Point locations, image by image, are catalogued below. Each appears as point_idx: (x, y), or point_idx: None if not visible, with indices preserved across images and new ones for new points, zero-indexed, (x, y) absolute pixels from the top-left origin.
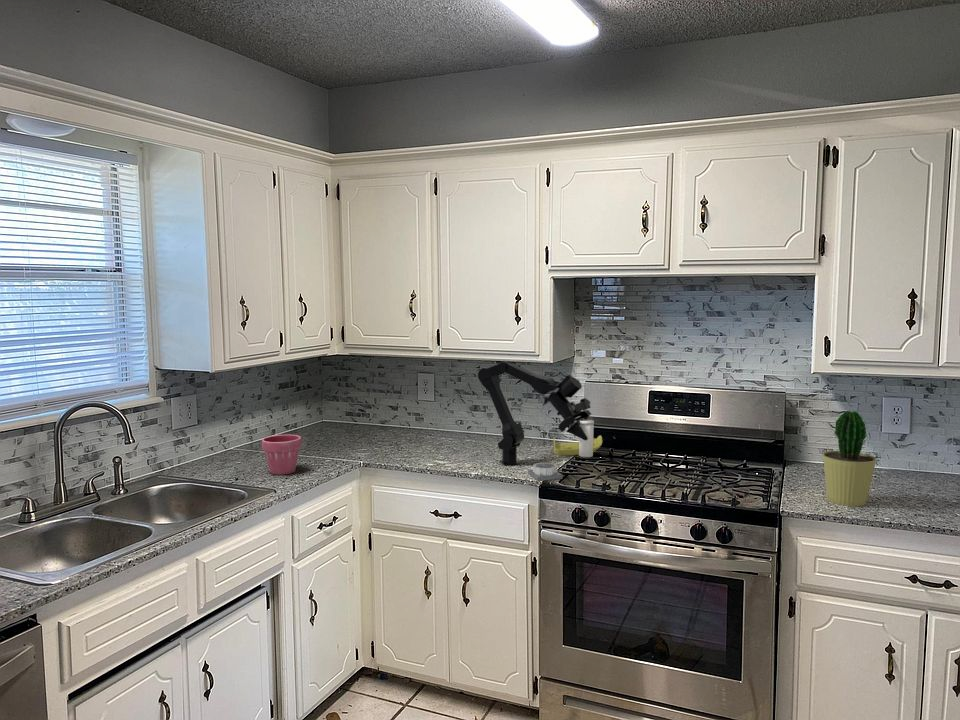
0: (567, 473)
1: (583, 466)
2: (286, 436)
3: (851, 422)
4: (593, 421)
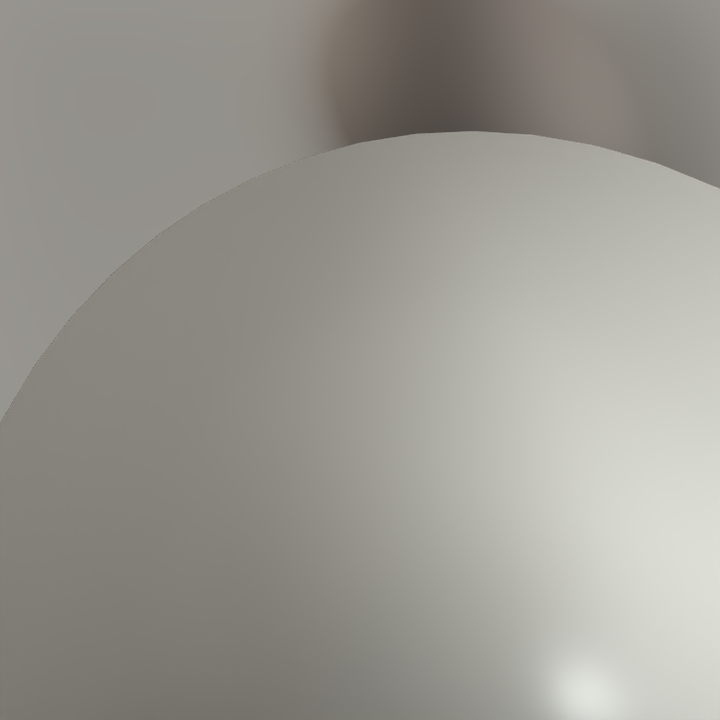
0: None
1: None
2: None
3: None
4: (296, 170)
